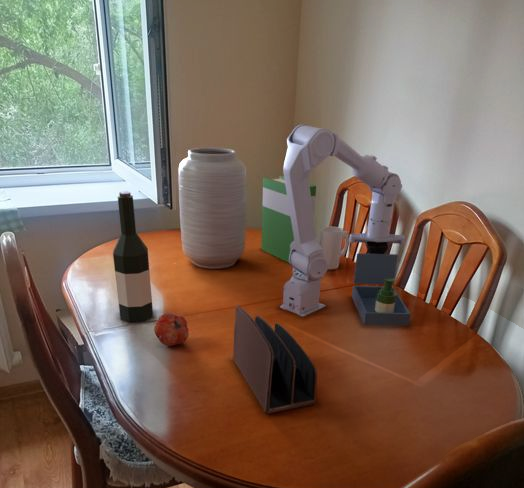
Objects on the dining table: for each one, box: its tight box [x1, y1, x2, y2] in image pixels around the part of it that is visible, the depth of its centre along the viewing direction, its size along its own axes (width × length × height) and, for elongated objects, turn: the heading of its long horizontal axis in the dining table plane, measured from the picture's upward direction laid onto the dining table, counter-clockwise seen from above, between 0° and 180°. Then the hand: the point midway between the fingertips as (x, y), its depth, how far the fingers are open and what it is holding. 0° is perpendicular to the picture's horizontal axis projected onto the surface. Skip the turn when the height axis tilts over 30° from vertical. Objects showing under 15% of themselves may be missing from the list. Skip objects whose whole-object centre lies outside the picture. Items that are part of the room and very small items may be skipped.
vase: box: [178, 147, 248, 270], centre depth 150 cm, size 20×20×34 cm
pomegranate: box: [153, 312, 189, 347], centre depth 109 cm, size 7×7×10 cm
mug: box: [319, 225, 350, 270], centre depth 155 cm, size 10×7×12 cm, turn 115°
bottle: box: [374, 277, 397, 313], centre depth 121 cm, size 5×5×11 cm
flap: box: [353, 253, 399, 286], centre depth 132 cm, size 8×11×1 cm
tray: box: [351, 285, 412, 327], centre depth 127 cm, size 17×11×4 cm, turn 1°
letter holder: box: [232, 305, 318, 415], centre depth 95 cm, size 10×20×14 cm, turn 21°
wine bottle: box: [112, 190, 154, 324], centre depth 115 cm, size 8×8×30 cm
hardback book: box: [260, 175, 317, 264], centre depth 160 cm, size 18×7×24 cm, turn 35°
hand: (372, 268), depth 135 cm, fingers closed, pressing on flap
